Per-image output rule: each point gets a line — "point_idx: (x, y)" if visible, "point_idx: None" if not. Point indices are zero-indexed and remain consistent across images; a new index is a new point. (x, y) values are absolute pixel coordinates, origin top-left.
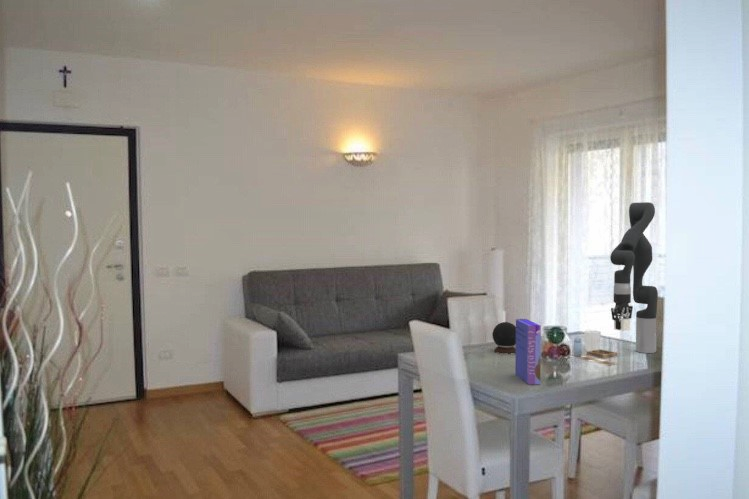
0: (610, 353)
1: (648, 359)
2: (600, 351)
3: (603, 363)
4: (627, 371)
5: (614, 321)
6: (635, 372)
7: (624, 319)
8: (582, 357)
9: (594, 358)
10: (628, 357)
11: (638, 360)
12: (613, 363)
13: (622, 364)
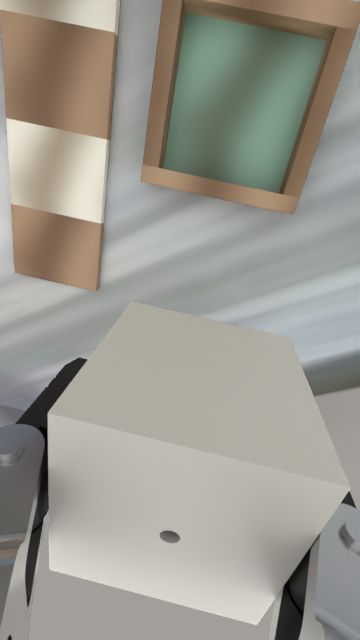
0: (230, 188)
1: (332, 367)
2: (329, 41)
3: (20, 241)
4: (7, 370)
5: (79, 379)
6: (20, 396)
7: (151, 571)
8: (55, 23)
9: (97, 124)
10: (326, 269)
11: None
12: (64, 282)
13: (113, 310)
